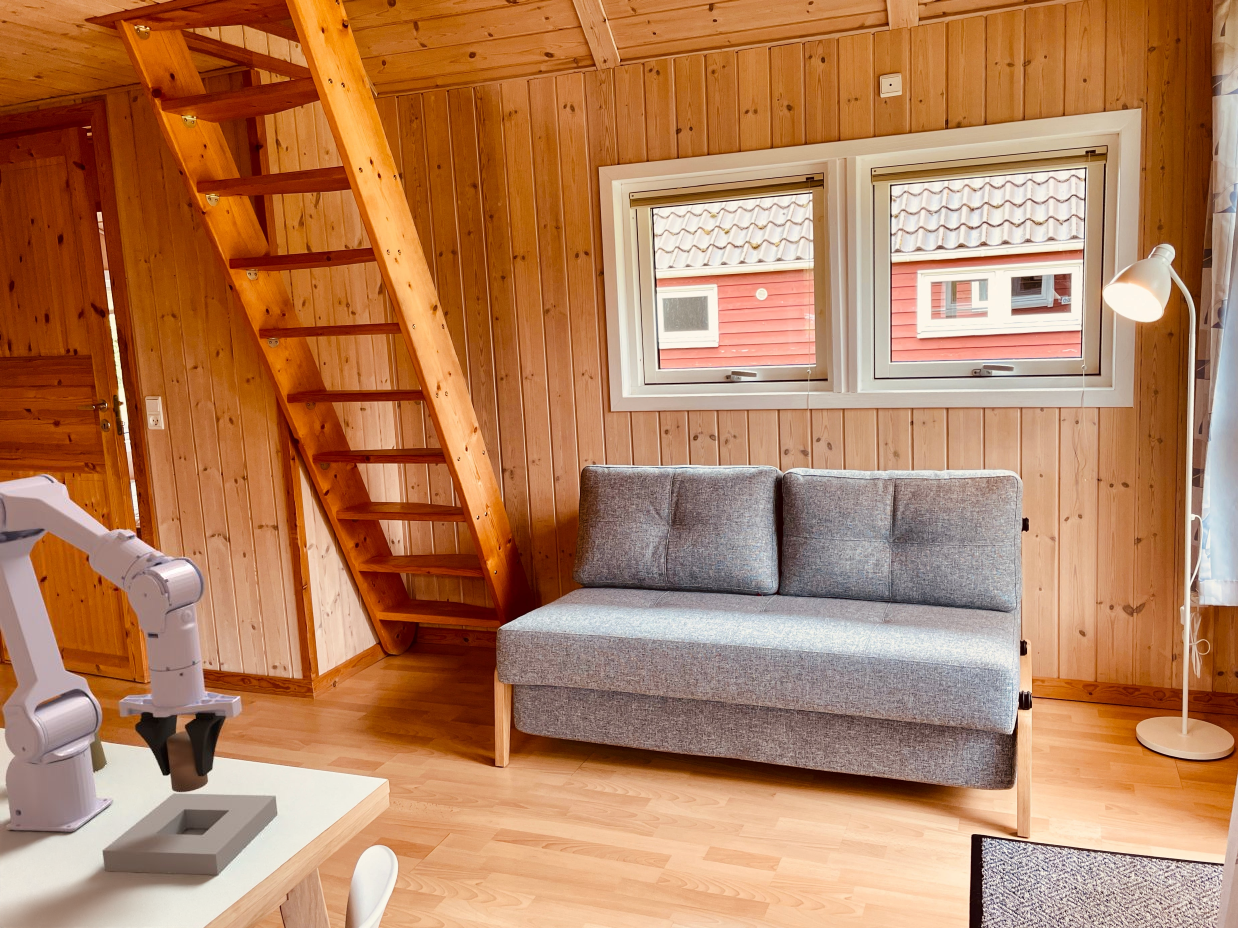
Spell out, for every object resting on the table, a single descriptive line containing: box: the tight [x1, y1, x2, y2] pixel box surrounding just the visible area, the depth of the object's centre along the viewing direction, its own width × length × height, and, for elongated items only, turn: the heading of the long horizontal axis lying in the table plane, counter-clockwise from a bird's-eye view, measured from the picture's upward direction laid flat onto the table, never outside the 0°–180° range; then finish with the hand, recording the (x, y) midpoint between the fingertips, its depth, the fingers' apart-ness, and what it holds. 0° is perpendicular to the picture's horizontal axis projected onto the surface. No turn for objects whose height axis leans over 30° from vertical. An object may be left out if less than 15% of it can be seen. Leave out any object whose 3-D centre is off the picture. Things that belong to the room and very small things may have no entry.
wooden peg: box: [166, 730, 209, 793], centre depth 118 cm, size 4×4×6 cm
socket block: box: [102, 793, 278, 876], centre depth 119 cm, size 14×14×2 cm
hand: (187, 772), depth 118 cm, fingers closed on wooden peg, 4 cm apart
